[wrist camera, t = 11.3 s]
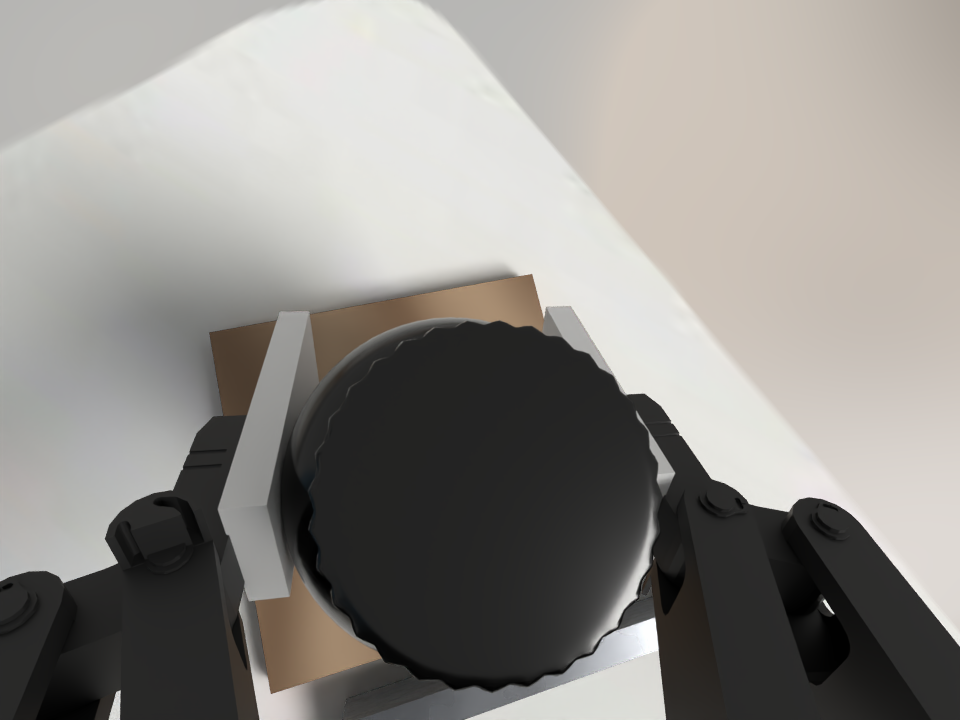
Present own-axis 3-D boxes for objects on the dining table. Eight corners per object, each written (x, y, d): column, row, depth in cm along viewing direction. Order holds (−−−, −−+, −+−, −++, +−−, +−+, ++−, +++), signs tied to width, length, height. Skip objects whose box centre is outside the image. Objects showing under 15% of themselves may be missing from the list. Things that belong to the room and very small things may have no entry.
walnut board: (276, 682, 20) (271, 694, 19) (217, 337, 22) (209, 332, 21) (603, 577, 23) (613, 583, 22) (526, 280, 25) (531, 274, 24)
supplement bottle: (414, 615, 17) (453, 950, 6) (287, 459, 18) (74, 468, 6) (559, 478, 19) (822, 519, 7) (441, 337, 19) (513, 156, 8)
